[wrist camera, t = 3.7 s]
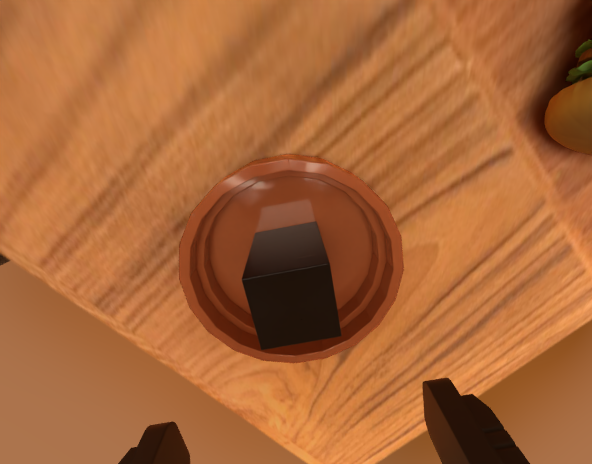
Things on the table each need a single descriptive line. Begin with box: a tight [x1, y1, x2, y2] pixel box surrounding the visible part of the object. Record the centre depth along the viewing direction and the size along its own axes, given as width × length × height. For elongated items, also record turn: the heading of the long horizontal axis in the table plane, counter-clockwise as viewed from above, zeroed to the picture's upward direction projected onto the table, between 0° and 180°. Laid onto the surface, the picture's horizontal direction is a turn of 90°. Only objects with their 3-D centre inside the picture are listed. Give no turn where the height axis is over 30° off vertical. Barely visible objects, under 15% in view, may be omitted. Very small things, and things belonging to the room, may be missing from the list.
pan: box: [179, 154, 404, 363], centre depth 21 cm, size 14×14×4 cm
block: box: [242, 221, 342, 350], centre depth 19 cm, size 4×4×7 cm
